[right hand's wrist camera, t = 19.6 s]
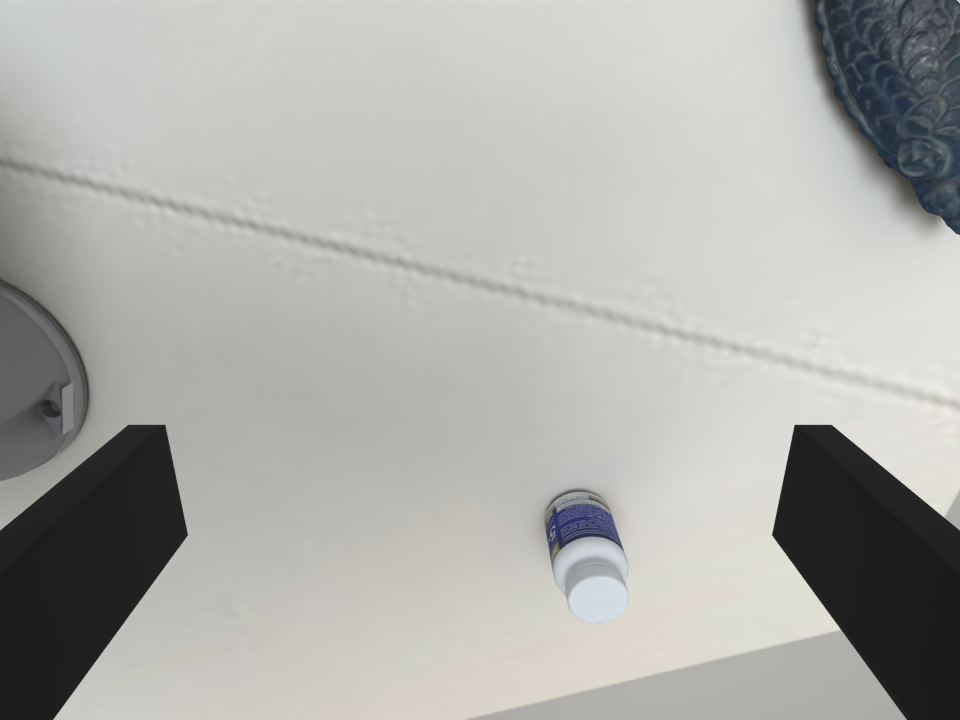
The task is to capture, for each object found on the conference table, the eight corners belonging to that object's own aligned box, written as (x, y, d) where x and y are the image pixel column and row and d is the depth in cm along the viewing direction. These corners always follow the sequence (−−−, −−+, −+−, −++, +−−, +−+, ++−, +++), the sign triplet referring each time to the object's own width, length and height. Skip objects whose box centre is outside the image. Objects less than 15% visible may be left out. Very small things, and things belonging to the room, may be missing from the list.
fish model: (891, 253, 40) (946, 267, 35) (759, -58, 34) (805, -91, 29) (990, 196, 39) (1062, 203, 34) (872, -137, 33) (939, -185, 28)
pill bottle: (535, 501, 47) (547, 580, 38) (600, 481, 46) (627, 557, 38) (555, 553, 48) (571, 640, 40) (618, 535, 48) (647, 619, 40)
